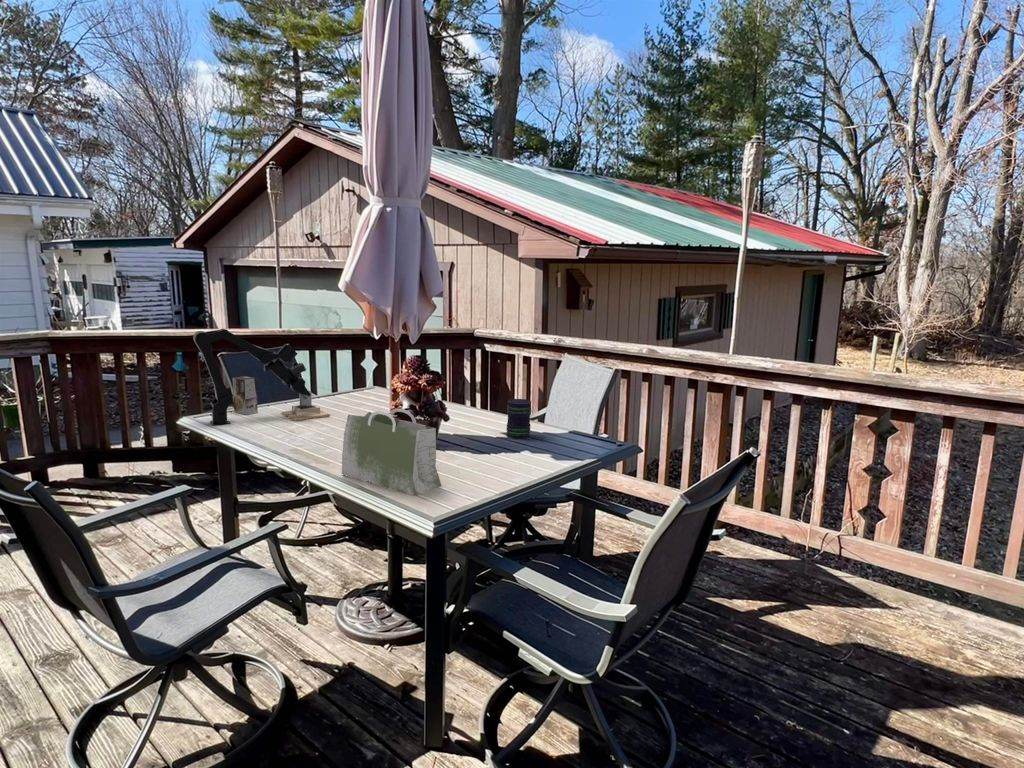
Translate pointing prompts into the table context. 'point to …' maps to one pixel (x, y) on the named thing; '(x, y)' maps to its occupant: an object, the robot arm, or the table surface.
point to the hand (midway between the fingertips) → (307, 393)
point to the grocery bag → (390, 452)
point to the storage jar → (518, 418)
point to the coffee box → (245, 395)
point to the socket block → (305, 413)
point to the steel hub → (305, 401)
